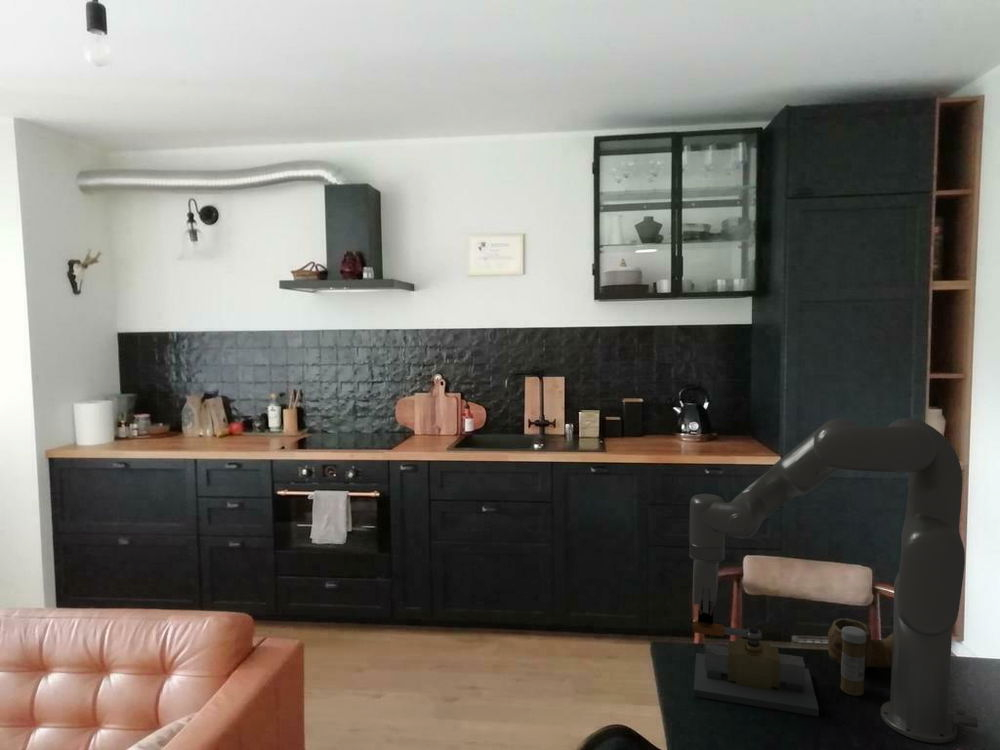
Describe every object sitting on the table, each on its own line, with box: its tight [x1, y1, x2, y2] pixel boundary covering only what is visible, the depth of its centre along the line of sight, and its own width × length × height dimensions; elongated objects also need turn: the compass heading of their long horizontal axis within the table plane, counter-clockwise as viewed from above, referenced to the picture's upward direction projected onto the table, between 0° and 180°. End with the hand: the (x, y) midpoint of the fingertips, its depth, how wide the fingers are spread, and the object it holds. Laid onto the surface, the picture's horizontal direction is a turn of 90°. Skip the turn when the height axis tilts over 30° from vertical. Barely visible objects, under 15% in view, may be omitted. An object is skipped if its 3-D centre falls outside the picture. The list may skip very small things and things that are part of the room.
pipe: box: [827, 618, 893, 669], centre depth 149 cm, size 9×16×10 cm, turn 81°
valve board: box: [693, 652, 820, 717], centre depth 143 cm, size 24×16×2 cm, turn 72°
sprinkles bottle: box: [839, 626, 866, 697], centre depth 140 cm, size 5×5×13 cm
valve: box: [704, 637, 806, 692], centre depth 143 cm, size 20×7×9 cm, turn 72°
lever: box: [692, 620, 763, 641], centre depth 144 cm, size 14×3×2 cm, turn 73°
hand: (705, 629), depth 149 cm, fingers closed
